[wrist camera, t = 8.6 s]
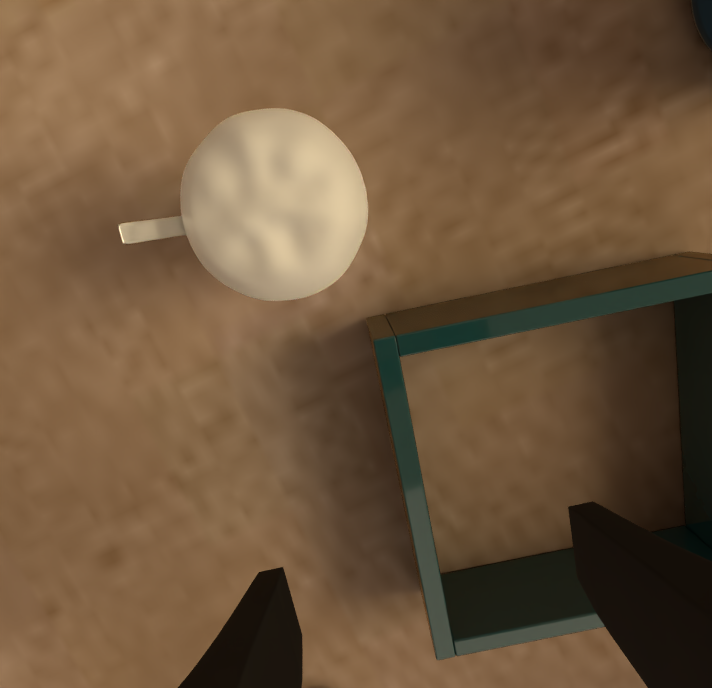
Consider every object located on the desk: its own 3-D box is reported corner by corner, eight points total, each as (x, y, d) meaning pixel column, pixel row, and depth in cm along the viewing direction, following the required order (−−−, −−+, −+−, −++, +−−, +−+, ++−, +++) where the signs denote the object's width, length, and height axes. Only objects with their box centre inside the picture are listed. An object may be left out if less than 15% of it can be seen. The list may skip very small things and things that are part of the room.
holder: (420, 592, 25) (436, 661, 21) (365, 317, 22) (372, 340, 18) (702, 535, 25) (769, 594, 21) (689, 251, 22) (767, 259, 18)
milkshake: (205, 163, 20) (87, 117, 10) (344, 139, 20) (354, 72, 10) (232, 280, 21) (147, 338, 12) (363, 258, 21) (388, 296, 12)
